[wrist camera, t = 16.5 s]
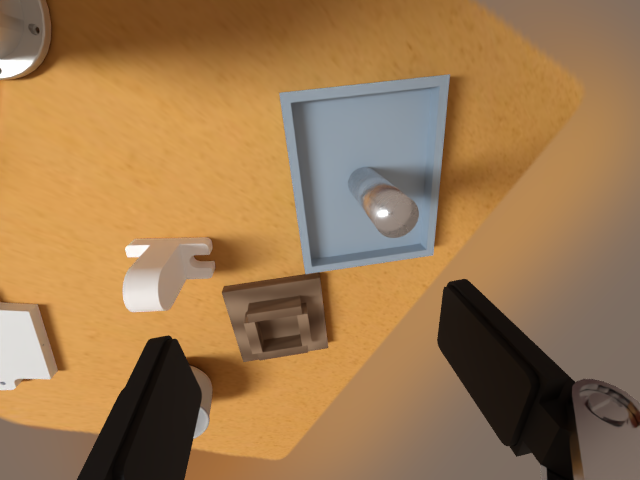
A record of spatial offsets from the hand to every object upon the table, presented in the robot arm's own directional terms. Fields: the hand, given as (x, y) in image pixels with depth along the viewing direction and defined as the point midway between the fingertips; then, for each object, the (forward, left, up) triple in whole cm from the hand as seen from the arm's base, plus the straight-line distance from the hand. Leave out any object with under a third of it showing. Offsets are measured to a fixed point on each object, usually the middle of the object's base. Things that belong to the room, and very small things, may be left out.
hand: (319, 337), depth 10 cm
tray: (+3, +9, -28) cm, 30 cm away
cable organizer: (+10, -17, -29) cm, 35 cm away
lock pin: (+3, +9, -27) cm, 29 cm away
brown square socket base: (+23, -5, -28) cm, 37 cm away
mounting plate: (+19, -45, -29) cm, 57 cm away
